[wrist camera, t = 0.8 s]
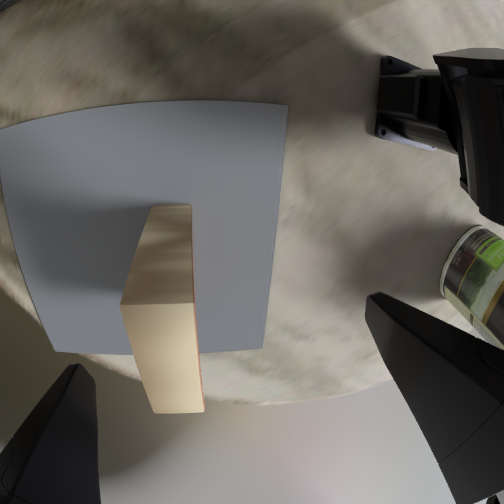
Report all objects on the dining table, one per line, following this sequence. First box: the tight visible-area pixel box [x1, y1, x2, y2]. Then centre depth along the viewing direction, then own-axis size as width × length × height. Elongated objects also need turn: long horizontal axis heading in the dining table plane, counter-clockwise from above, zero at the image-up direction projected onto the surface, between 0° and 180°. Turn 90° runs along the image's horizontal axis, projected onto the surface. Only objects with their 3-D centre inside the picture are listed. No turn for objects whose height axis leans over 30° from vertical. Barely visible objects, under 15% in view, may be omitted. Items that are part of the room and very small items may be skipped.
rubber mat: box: [0, 100, 288, 355], centre depth 19 cm, size 20×20×1 cm
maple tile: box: [120, 204, 205, 413], centre depth 15 cm, size 3×7×10 cm, turn 177°
